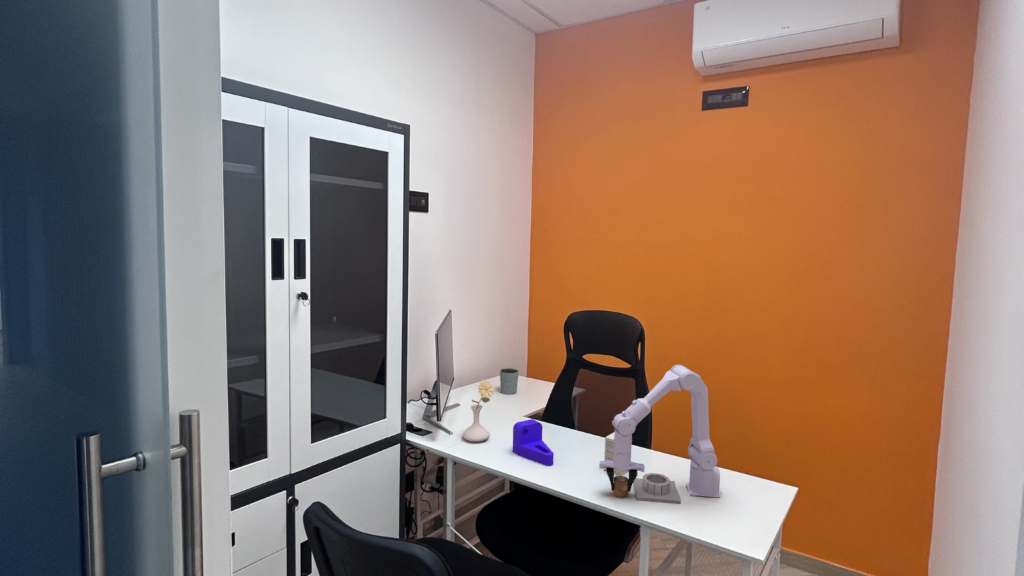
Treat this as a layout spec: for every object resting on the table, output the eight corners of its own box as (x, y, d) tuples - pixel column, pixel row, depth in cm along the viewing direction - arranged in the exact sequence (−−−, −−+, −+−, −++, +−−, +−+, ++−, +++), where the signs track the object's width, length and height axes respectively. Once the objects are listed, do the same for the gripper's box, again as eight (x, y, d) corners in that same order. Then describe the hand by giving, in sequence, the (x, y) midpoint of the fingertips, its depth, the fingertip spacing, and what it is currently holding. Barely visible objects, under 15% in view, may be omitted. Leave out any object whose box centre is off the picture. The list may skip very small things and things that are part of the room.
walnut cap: (627, 491, 185) (628, 475, 184) (628, 498, 180) (629, 482, 179) (612, 490, 185) (613, 474, 184) (613, 497, 180) (614, 481, 180)
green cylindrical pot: (509, 388, 299) (509, 367, 297) (522, 392, 291) (522, 370, 290) (495, 392, 292) (495, 370, 291) (508, 396, 284) (508, 374, 283)
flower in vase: (466, 445, 220) (467, 385, 218) (459, 435, 231) (459, 377, 228) (497, 441, 225) (498, 382, 222) (488, 431, 236) (489, 375, 233)
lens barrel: (667, 483, 189) (668, 474, 188) (671, 496, 180) (672, 486, 179) (641, 481, 190) (641, 472, 189) (644, 494, 181) (644, 484, 181)
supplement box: (613, 463, 206) (614, 431, 205) (631, 469, 202) (632, 436, 200) (603, 470, 201) (604, 436, 199) (621, 476, 196) (622, 442, 195)
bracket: (512, 452, 215) (513, 423, 214) (535, 446, 221) (535, 418, 220) (539, 469, 200) (540, 438, 199) (562, 462, 206) (563, 432, 205)
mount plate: (673, 483, 191) (674, 481, 191) (680, 503, 177) (681, 500, 177) (632, 480, 193) (633, 477, 193) (636, 500, 179) (636, 497, 179)
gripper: (643, 447, 184) (641, 486, 185) (599, 444, 186) (598, 482, 187) (645, 456, 177) (643, 496, 178) (600, 452, 179) (598, 492, 180)
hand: (620, 489), depth 182 cm, fingers closed on walnut cap, 5 cm apart
